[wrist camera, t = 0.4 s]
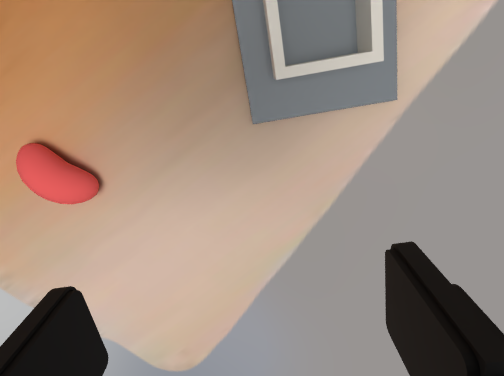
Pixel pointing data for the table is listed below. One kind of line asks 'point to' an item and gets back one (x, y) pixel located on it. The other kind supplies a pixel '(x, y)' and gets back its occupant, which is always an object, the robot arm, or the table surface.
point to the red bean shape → (54, 176)
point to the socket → (316, 55)
